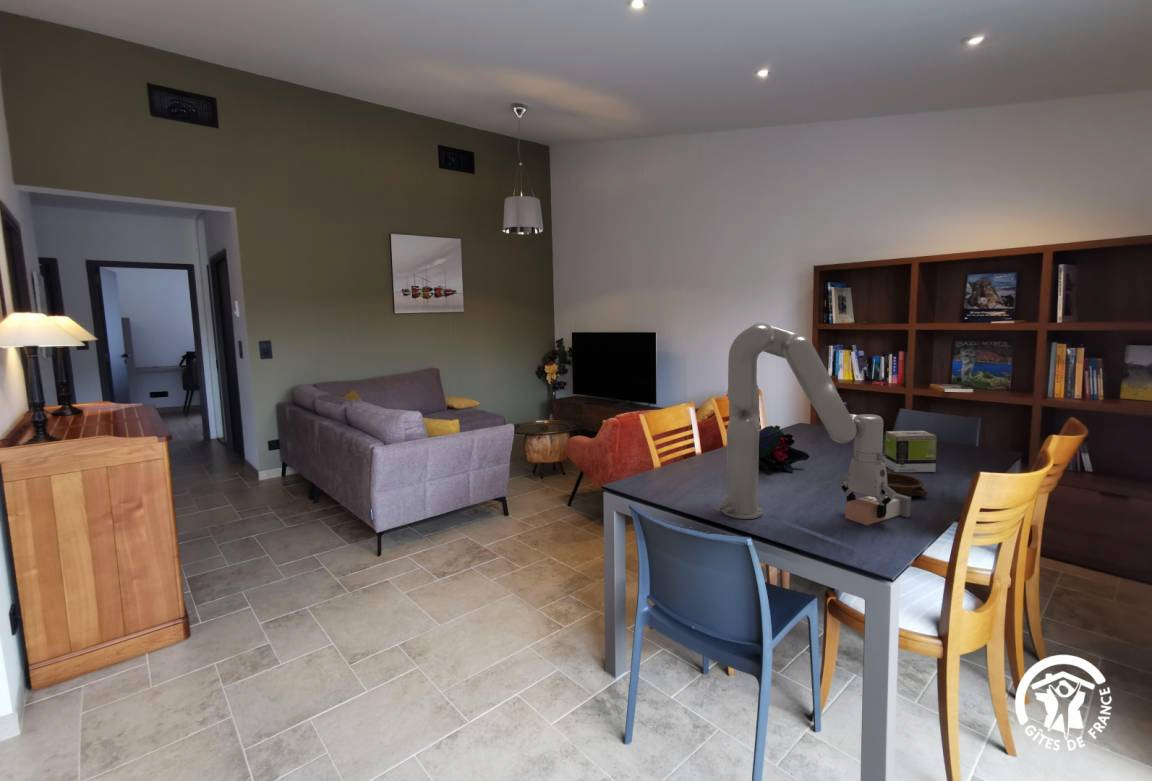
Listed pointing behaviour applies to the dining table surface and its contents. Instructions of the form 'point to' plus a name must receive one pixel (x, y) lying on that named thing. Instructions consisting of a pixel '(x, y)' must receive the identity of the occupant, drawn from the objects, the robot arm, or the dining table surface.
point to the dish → (905, 485)
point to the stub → (862, 511)
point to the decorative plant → (778, 450)
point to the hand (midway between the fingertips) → (865, 512)
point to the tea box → (910, 451)
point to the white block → (897, 506)
